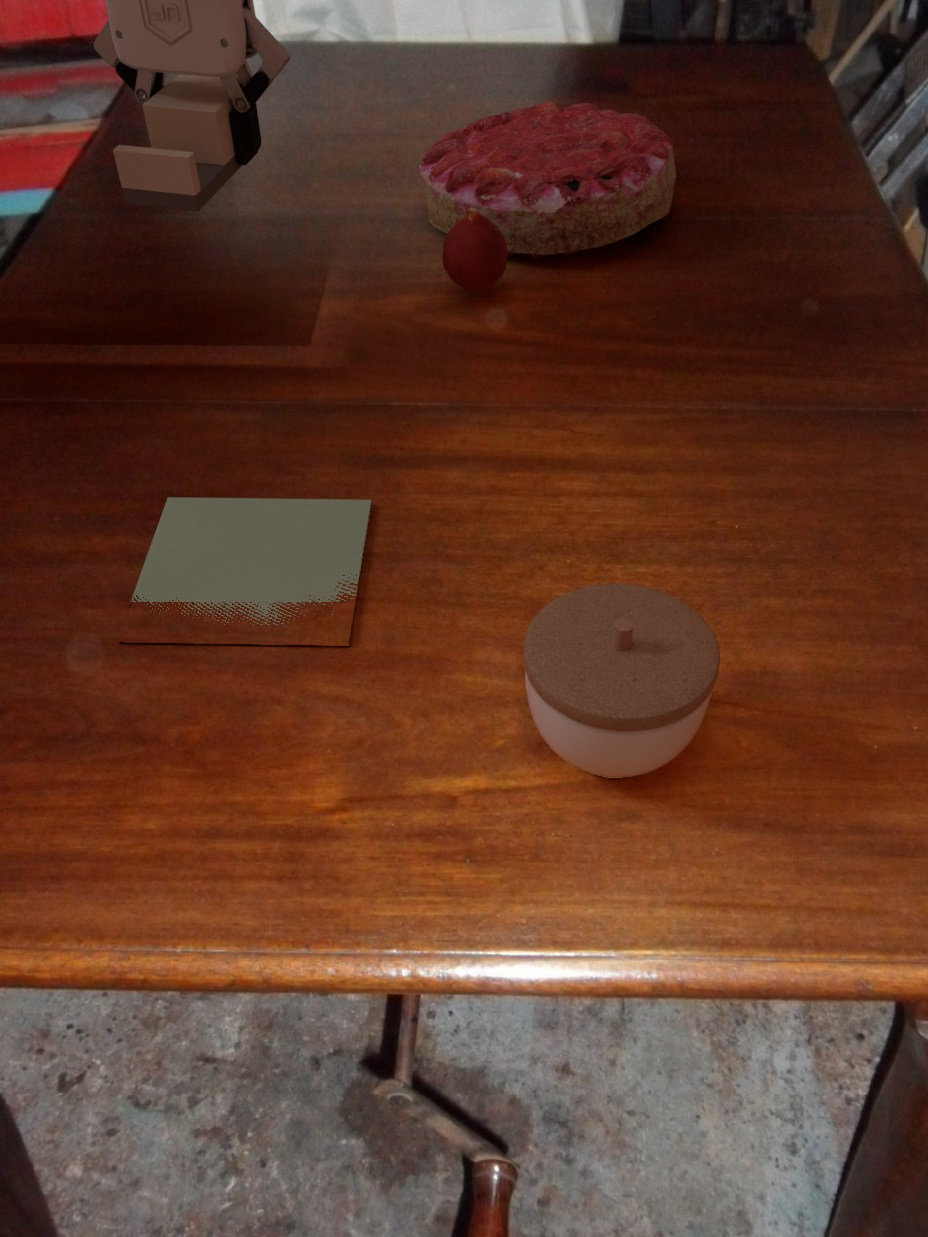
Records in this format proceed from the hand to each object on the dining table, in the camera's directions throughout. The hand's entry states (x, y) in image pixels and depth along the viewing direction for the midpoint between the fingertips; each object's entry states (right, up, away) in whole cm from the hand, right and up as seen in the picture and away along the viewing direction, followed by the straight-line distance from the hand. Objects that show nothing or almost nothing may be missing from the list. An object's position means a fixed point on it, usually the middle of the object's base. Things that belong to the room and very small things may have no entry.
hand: (208, 152), depth 92 cm
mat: (+6, -35, -13) cm, 38 cm away
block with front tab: (0, -1, -1) cm, 2 cm away
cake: (+29, +6, +25) cm, 39 cm away
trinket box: (+30, -46, -24) cm, 60 cm away
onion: (+21, -7, +14) cm, 26 cm away
